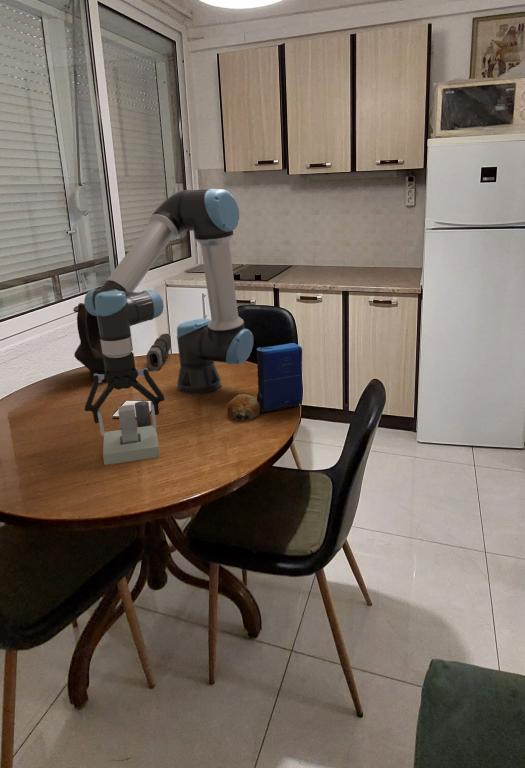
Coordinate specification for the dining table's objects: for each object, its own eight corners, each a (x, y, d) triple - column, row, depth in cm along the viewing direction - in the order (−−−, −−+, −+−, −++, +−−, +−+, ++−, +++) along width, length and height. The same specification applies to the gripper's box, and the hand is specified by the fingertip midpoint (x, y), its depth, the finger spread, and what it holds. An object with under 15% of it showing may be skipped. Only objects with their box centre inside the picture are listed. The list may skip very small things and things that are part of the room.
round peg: (151, 425, 164) (148, 400, 161) (152, 431, 160) (148, 405, 157) (137, 427, 163) (134, 402, 160) (138, 433, 159) (134, 407, 156)
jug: (91, 368, 217) (79, 292, 207) (136, 368, 215) (126, 291, 204) (66, 388, 198) (51, 305, 187) (116, 388, 195) (103, 304, 185)
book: (261, 415, 166) (259, 351, 159) (254, 408, 171) (252, 346, 164) (303, 406, 172) (304, 344, 165) (296, 401, 176) (296, 340, 169)
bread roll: (264, 424, 169) (268, 398, 169) (247, 422, 160) (252, 395, 160) (237, 418, 174) (241, 393, 174) (219, 416, 165) (223, 390, 165)
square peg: (139, 444, 152) (133, 404, 148) (139, 451, 148) (134, 409, 144) (124, 447, 151) (118, 406, 147) (124, 453, 147) (118, 412, 143)
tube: (179, 354, 240) (165, 368, 210) (164, 358, 240) (149, 373, 211) (171, 330, 237) (156, 341, 208) (156, 334, 238) (139, 346, 209)
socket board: (156, 434, 157) (155, 425, 156) (159, 456, 145) (158, 446, 144) (105, 441, 155) (104, 432, 153) (104, 465, 142) (102, 454, 141)
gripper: (166, 344, 146) (174, 417, 154) (67, 354, 141) (81, 430, 148) (169, 351, 139) (177, 428, 147) (65, 363, 134) (79, 442, 142)
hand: (129, 429), depth 148 cm, fingers open, 13 cm apart
